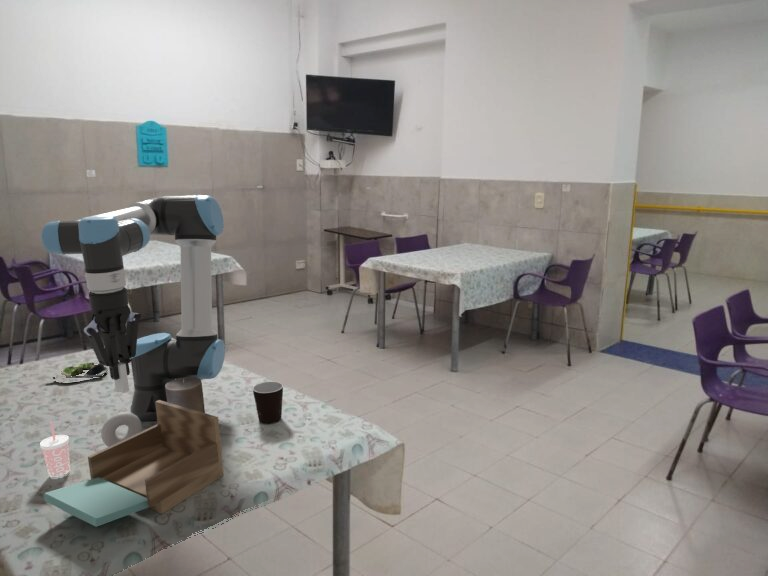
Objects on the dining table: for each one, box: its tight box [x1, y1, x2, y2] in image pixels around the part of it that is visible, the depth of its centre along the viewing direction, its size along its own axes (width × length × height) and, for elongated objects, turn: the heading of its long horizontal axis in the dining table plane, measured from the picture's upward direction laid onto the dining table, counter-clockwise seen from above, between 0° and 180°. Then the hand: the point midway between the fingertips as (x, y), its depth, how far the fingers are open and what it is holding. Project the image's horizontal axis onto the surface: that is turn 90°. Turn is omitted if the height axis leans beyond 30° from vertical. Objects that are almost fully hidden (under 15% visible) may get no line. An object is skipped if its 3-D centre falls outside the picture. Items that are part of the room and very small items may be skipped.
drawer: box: [87, 400, 224, 515], centre depth 131 cm, size 21×20×15 cm
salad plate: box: [61, 362, 108, 378], centre depth 202 cm, size 19×18×5 cm
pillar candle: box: [165, 377, 206, 413], centre depth 159 cm, size 10×10×15 cm
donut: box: [100, 411, 143, 447], centre depth 149 cm, size 10×4×10 cm, turn 129°
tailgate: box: [43, 477, 150, 527], centre depth 119 cm, size 18×3×12 cm
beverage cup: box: [39, 420, 71, 477], centre depth 136 cm, size 6×6×14 cm
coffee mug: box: [252, 380, 284, 425], centre depth 165 cm, size 12×9×10 cm
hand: (122, 390), depth 128 cm, fingers closed
